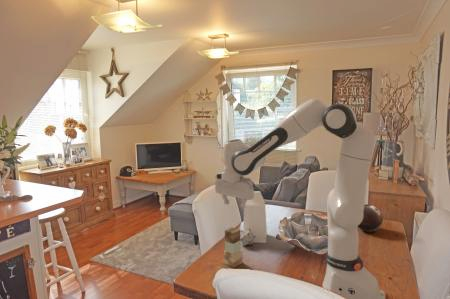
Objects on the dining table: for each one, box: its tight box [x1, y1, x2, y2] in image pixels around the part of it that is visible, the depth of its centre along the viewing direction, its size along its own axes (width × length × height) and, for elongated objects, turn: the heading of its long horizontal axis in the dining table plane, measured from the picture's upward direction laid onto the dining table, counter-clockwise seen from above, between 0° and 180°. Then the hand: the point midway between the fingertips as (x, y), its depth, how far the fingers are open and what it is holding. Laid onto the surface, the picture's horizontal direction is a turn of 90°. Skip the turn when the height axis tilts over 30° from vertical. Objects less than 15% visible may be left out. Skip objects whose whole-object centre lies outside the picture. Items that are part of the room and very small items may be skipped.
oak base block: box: [223, 249, 243, 268], centre depth 148 cm, size 6×6×6 cm
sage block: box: [224, 240, 242, 255], centre depth 147 cm, size 5×5×5 cm
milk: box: [242, 190, 268, 244], centre depth 173 cm, size 12×12×26 cm
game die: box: [240, 229, 256, 248], centre depth 166 cm, size 9×8×10 cm
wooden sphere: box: [358, 204, 384, 233], centre depth 181 cm, size 15×15×15 cm
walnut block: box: [224, 226, 241, 244], centre depth 146 cm, size 5×5×5 cm
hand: (234, 205), depth 145 cm, fingers open, 8 cm apart
